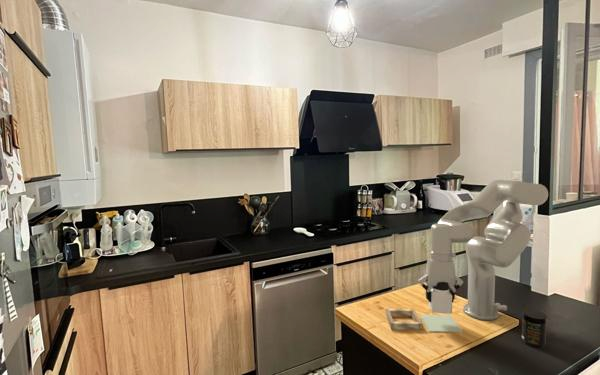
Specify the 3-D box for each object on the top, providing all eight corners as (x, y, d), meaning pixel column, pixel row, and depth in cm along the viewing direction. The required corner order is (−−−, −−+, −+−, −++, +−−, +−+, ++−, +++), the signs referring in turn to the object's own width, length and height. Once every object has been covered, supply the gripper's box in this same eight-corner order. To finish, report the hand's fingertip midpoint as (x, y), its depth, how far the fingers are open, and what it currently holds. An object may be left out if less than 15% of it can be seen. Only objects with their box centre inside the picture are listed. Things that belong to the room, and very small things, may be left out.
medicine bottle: (452, 314, 120) (453, 283, 119) (431, 312, 122) (432, 282, 121) (447, 305, 127) (448, 276, 126) (428, 304, 129) (428, 275, 128)
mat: (450, 316, 131) (450, 315, 131) (462, 332, 119) (462, 331, 119) (420, 315, 132) (420, 315, 132) (429, 331, 120) (429, 330, 120)
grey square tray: (413, 315, 133) (413, 309, 132) (421, 330, 121) (421, 323, 121) (385, 314, 134) (385, 309, 133) (391, 329, 122) (390, 323, 122)
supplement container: (549, 350, 107) (550, 320, 106) (526, 347, 109) (527, 317, 108) (540, 338, 113) (541, 310, 112) (518, 336, 115) (519, 308, 114)
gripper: (460, 253, 126) (459, 296, 127) (414, 253, 127) (414, 296, 129) (469, 259, 118) (467, 305, 120) (420, 259, 120) (419, 304, 121)
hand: (440, 300), depth 124 cm, fingers closed on medicine bottle, 7 cm apart
